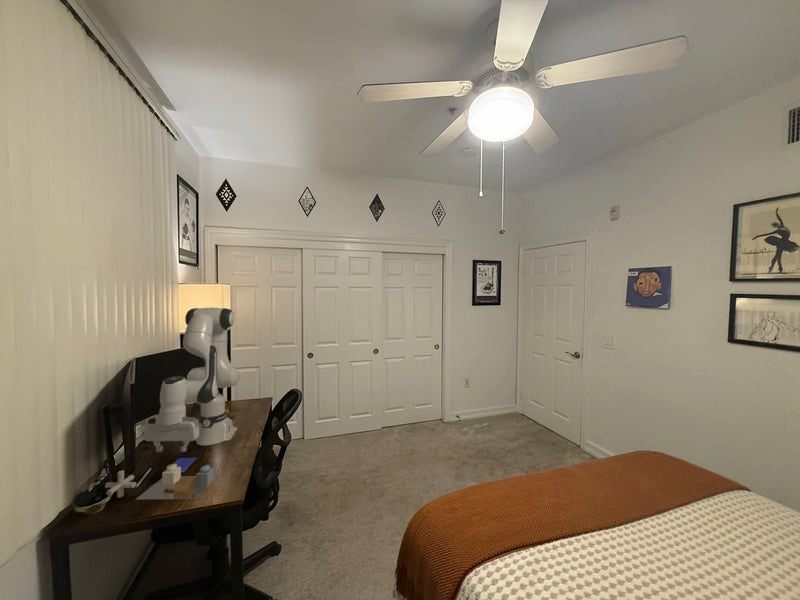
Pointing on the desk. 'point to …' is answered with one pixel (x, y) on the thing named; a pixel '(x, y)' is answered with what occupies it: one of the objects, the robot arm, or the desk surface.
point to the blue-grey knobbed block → (205, 475)
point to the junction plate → (159, 492)
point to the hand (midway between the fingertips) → (171, 451)
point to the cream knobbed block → (171, 474)
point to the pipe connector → (120, 484)
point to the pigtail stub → (184, 486)
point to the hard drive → (184, 463)
